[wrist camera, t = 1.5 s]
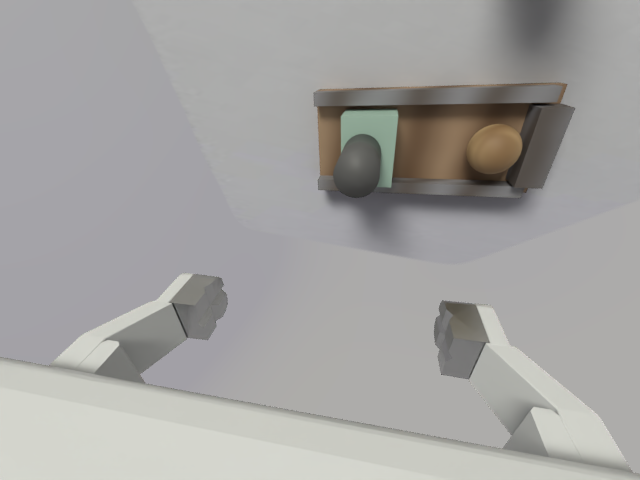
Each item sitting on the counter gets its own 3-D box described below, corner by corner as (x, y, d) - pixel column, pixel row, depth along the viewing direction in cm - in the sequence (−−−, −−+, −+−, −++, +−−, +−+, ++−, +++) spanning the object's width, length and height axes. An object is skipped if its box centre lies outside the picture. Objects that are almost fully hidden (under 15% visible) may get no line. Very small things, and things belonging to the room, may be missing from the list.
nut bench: (558, 82, 25) (583, 87, 22) (520, 186, 31) (536, 202, 28) (319, 89, 30) (311, 94, 26) (323, 180, 35) (316, 193, 32)
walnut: (518, 119, 26) (539, 129, 23) (503, 165, 29) (520, 181, 25) (467, 119, 27) (479, 129, 23) (457, 164, 29) (467, 180, 26)
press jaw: (397, 108, 28) (400, 131, 20) (390, 173, 31) (391, 216, 23) (346, 109, 29) (329, 131, 20) (345, 172, 32) (331, 212, 24)
